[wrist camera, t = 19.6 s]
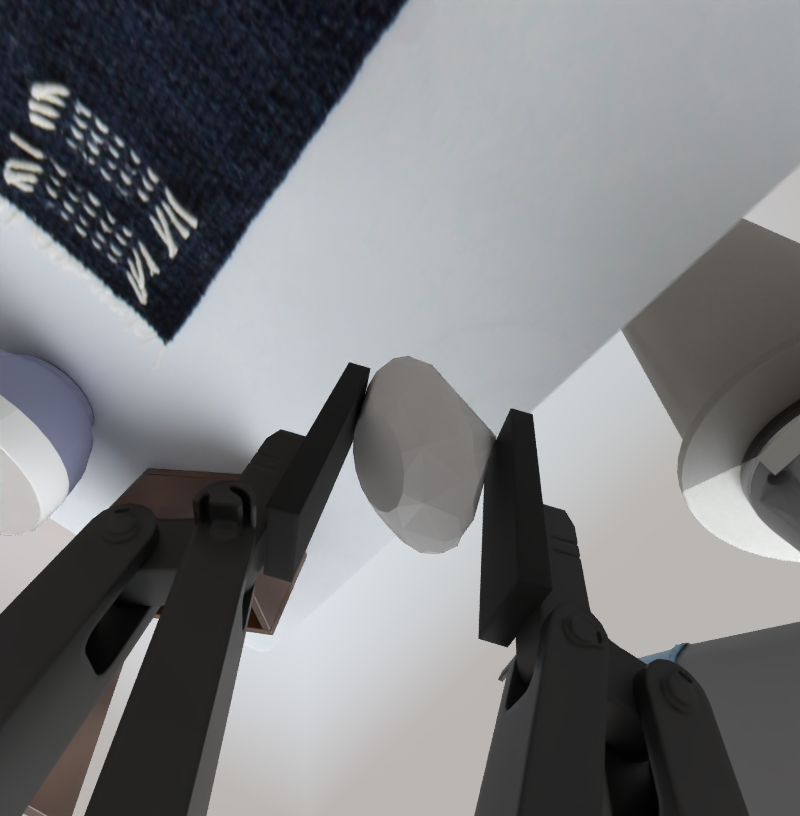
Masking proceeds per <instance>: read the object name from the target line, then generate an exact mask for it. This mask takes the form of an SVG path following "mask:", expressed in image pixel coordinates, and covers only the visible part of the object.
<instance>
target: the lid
mask: <svg viewBox="0 0 800 816" xmlns="http://www.w3.org/2000/svg"><path fill="white" fill-rule="evenodd" d="M123 663H124V662H123ZM122 666H123V664H122V665H121V667H120V668H119V670H118V671H117V673H116V674H115V676H114V677H113V679H112V680H111V682H110V683H109V685H108V687H107V688H106V690H105V691H104V693H103V694H102V696H101V697H100V699H99V700H98V702H97V703H96V705H95V706H94V708H93V709H92V711H91V712H90V714H89V715H88V717H87V718H86V720H85V721H84V723H83V724H82V726H81V727H80V729H79V730H78V732H77V733H76V735H75V736H74V738H73V739H72V741H71V742H70V744H69V745H68V747H67V748H66V750H65V751H64V753H63V754H62V756H61V757H60V759H59V760H58V762H57V763H56V765H55V766H54V768H53V769H52V771H51V772H50V774H49V775H48V777H47V778H46V780H45V781H44V783H43V784H42V786H41V787H40V789H39V790H38V792H37V793H36V795H35V796H34V798H33V799H32V801H31V803H30V804H29V806H28V807H27V809H26V810H25V812H24V814H26V815H28V816H72V814H73V811H74V808H75V805H76V802H77V799H78V796H79V793H80V790H81V787H82V784H83V781H84V779H85V775H86V773H87V770H88V767H89V764H90V761H91V758H92V755H93V752H94V749H95V746H96V743H97V740H98V737H99V734H100V731H101V728H102V725H103V722H104V719H105V717H106V714H107V711H108V708H109V705H110V702H111V699H112V696H113V693H114V690H115V687H116V684H117V681H118V678H119V675H120V672H121V669H122Z"/></svg>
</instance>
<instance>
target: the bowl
mask: <svg viewBox="0 0 800 816" xmlns="http://www.w3.org/2000/svg"><path fill="white" fill-rule="evenodd" d="M92 425H93V412H92V409H91V406H90V403H89V402H88V400H87V398H86V396H85V395H84V394H83V392H82V391H81V390H80V388H79V387H78V386H77V385H76V384H75V383H74V382H73V381H72V380H71V379H70V378H69V377H68V376H67V375H65V374H64V373H63V372H62V371H60V370H59V369H57V368H56V367H54V366H53V365H51V364H49V363H47V362H46V361H44V360H41V359H39V358H36V357H33V356H29V355H25V354H11V353H8V352H5V351H1V350H0V535H7V536H12V535H23V534H26V533H29V532H32V531H33V530H35V529H36V528H38V527H39V526H40V525H41V524H42V523H43V522H44V521H45V520H46V519H47V518H48V517H49V516H50V515H51V514H52V513H53V512H54V511H55V510H56V509H57V508H58V507H59V506H60V505H61V504H62V503H63V502H64V501H65V499H66V497H67V496H68V495H69V493H70V492H71V491H72V490H73V488H74V487H75V486H76V484H77V483H78V482H79V480H80V479H81V477H82V475H83V474H84V472H85V469H86V466H87V463H88V460H89V457H90V453H91V450H92V445H93V435H92V429H91V427H92Z"/></svg>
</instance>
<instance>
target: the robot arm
mask: <svg viewBox="0 0 800 816" xmlns="http://www.w3.org/2000/svg"><path fill="white" fill-rule="evenodd" d="M369 373H370V368H367V367H364V366H360V365H357V364H353V363H350V362H349V364H348V365H347V367H346V369H345V370H344V372H343V374H342V376H341V377H340V379H339V381H338V382H337V384H336V386H335V388H334V389H333V391H332V393H331V394H330V396H329V398H328V400H327V401H326V403H325V405H324V406H323V408H322V410H321V412H320V413H319V415H318V417H317V418H316V420H315V422H314V424H313V425H312V427H311V429H310V430H309V432H308V434H307V436H306V437H305V436H302V435H299V434H295V433H292V432H288V431H285V430H279V431H278V432H276V433H274V434H273V435H271V436H270V437H268V438H266V440H265V441H264V443H263V444H262V446H261V447H260V448H259V450H258V452H257V453H256V454H255V456H254V457H253V458H252V460H251V462H250V464H248V466H247V467H246V468H245V470H244V471H243V473H242V474H241V476H240V477H239V479H238V480H237V481H233V480H228V481H218V482H215V483H212V484H209V485H207V486H206V487H204V488H203V489H201V490H200V491H198V493H197V494H196V496H195V497H194V498H193V500H192V503H193V512H194V518H184V519H156V516H155V515H154V513H153V512H152V510H151V509H149V508H147V507H145V506H143V505H140V504H132V503H128V504H122V505H116V506H114V507H111V508H109V509H107V510H104V511H102V512H101V513H100V514H99V515H97V516H96V517H95V518H93V519H92V520H91V521H90V522H89V523H88V524H87V525H86V526H85V527H84V528H83V529H82V530H81V531H80V532H79V534H78V535H77V536H76V537H75V538H74V539H73V540H72V541H71V542H70V543H69V544H68V545H67V546H66V547H65V548H64V549H63V550H62V551H61V552H60V553H59V554H58V555H57V556H56V557H55V558H54V559H53V560H52V561H51V562H50V563H49V564H48V566H47V567H46V568H45V569H44V570H43V571H42V572H41V573H40V574H39V575H38V576H37V577H36V578H35V579H34V580H33V581H32V582H31V583H30V584H29V585H28V586H27V587H26V588H25V589H24V590H23V591H22V592H21V594H19V595H18V596H17V597H16V598H15V599H14V601H13V602H12V603H11V604H10V605H9V606H8V607H7V608H6V609H5V610H4V611H3V612H2V613H1V614H0V816H22V814H23V813H24V812H25V810H26V809H27V807H28V806H29V804H30V803H31V801H32V799H33V798H34V796H35V795H36V793H37V792H38V790H39V789H40V787H41V786H42V784H43V783H44V781H45V780H46V778H47V777H48V775H49V774H50V772H51V771H52V769H53V768H54V766H55V765H56V763H57V762H58V760H59V759H60V757H61V756H62V754H63V753H64V751H65V750H66V748H67V747H68V745H69V744H70V742H71V741H72V739H73V738H74V736H75V735H76V733H77V732H78V730H79V729H80V727H81V726H82V724H83V723H84V721H85V720H86V718H87V717H88V715H89V714H90V712H91V711H92V709H93V708H94V706H95V705H96V703H97V702H98V700H99V699H100V697H101V696H102V694H103V693H104V691H105V690H106V688H107V687H108V685H109V683H110V682H111V680H112V679H113V677H114V676H115V674H116V673H117V671H118V670H119V668H120V667H121V665H122V664H123V662H124V661H125V659H126V658H127V656H128V655H129V653H130V652H131V650H132V649H133V647H134V646H135V644H136V643H137V641H138V640H139V638H140V637H141V635H142V634H143V632H144V631H145V629H146V628H147V626H148V625H149V623H150V622H151V620H152V619H153V617H154V616H155V614H156V613H157V611H158V610H159V608H160V607H161V606H164V607H163V610H162V613H161V615H160V618H159V620H158V623H157V626H156V628H155V631H154V634H153V636H152V639H151V642H150V644H149V647H148V649H147V652H146V655H145V657H144V660H143V663H142V665H141V668H140V670H139V673H138V676H137V679H136V681H135V683H134V686H133V689H132V691H131V694H130V697H129V699H128V702H127V705H126V707H125V710H124V713H123V715H122V718H121V720H120V723H119V726H118V728H117V731H116V734H115V736H114V739H113V741H112V744H111V747H110V749H109V752H108V754H107V757H106V760H105V763H104V765H103V768H102V770H101V773H100V775H99V778H98V781H97V783H96V786H95V789H94V792H93V794H92V797H91V799H90V802H89V805H88V807H87V810H86V812H85V815H84V816H206V814H207V810H208V805H209V801H210V796H211V792H212V787H213V782H214V777H215V773H216V768H217V764H218V759H219V754H220V750H221V745H222V740H223V736H224V731H225V727H226V722H227V717H228V713H229V708H230V704H231V699H232V694H233V689H234V685H235V680H236V676H237V671H238V666H239V661H240V657H241V652H242V648H243V643H244V639H245V634H246V629H247V625H248V620H249V616H250V611H251V606H252V602H253V597H254V592H255V580H256V578H257V576H258V574H259V572H260V571H261V569H262V567H263V565H264V571H263V574H264V575H267V576H270V577H274V578H277V579H281V580H284V581H287V582H291V583H292V581H293V579H294V576H295V574H296V572H297V569H298V567H299V565H300V562H301V560H302V558H303V556H304V553H305V551H306V549H307V546H308V544H309V542H310V539H311V537H312V535H313V532H314V530H315V528H316V525H317V523H318V521H319V519H320V516H321V514H322V512H323V509H324V507H325V505H326V502H327V500H328V498H329V495H330V493H331V491H332V489H333V486H334V484H335V482H336V479H337V477H338V475H339V472H340V470H341V468H342V465H343V463H344V461H345V458H346V456H347V454H348V452H349V449H350V447H351V445H352V442H353V440H354V432H355V427H356V423H357V420H358V416H359V413H360V410H361V407H362V404H363V400H364V397H365V393H366V388H367V383H368V378H369ZM740 481H741V486H742V490H743V493H744V495H745V497H746V498H747V500H748V502H749V503H750V505H751V506H752V508H753V509H754V511H755V512H756V514H757V515H758V517H759V518H760V519H761V520H762V521H763V523H765V524H766V525H767V526H768V527H769V528H770V529H771V530H772V531H773V532H774V533H776V534H777V535H778V536H780V537H781V538H782V539H784V540H785V541H786V542H788V543H789V544H790V545H791V546H793V547H794V548H795V549H797V550H798V551H799V552H800V399H799V400H798V401H796V402H795V403H793V404H792V405H790V406H789V407H787V408H786V409H784V410H783V411H782V412H780V413H779V414H778V415H777V416H776V417H774V418H773V419H772V420H771V421H770V422H769V423H768V424H767V425H766V426H765V427H764V428H763V429H762V430H761V431H760V432H759V433H758V435H757V436H756V437H755V438H754V440H753V441H752V443H751V444H750V446H749V448H748V450H747V452H746V453H745V456H744V459H743V461H742V465H741V471H740ZM482 531H483V532H482V558H481V584H480V586H481V587H480V613H479V639H481V640H485V641H488V642H491V643H495V644H498V645H501V646H505V647H508V646H509V645H510V644H511V642H512V641H513V640H514V639H515V637H516V655H515V656H514V658H513V659H512V660H511V661H510V663H509V664H508V665H507V666H506V667H505V669H504V670H503V671H502V673H501V675H500V677H499V680H500V681H502V682H503V680H504V679H505V678H506V682H505V686H504V690H503V694H502V699H501V704H500V708H499V712H498V716H497V720H496V725H495V729H494V733H493V738H492V742H491V747H490V751H489V755H488V760H487V764H486V768H485V772H484V776H483V781H482V785H481V789H480V794H479V798H478V802H477V807H476V811H475V815H474V816H800V622H796V623H791V624H787V625H782V626H777V627H772V628H768V629H762V630H758V631H753V632H749V633H743V634H739V635H734V636H729V637H725V638H719V639H715V640H710V641H705V642H701V643H696V644H689V643H682V644H680V645H676V646H675V647H674V648H673V649H671V650H668V651H664V652H660V653H656V654H653V655H649V656H645V657H641V658H636V657H634V656H633V655H631V654H630V653H628V652H627V651H625V650H623V649H622V648H620V647H619V646H617V645H616V644H615V643H613V642H612V641H611V640H610V639H608V637H607V634H606V632H605V630H604V628H603V626H602V624H601V623H600V622H599V621H598V619H597V618H596V617H595V616H594V615H593V614H592V613H591V611H590V607H589V602H588V597H587V592H586V586H585V581H584V575H583V570H582V564H581V560H580V559H579V557H580V553H579V548H578V546H577V537H576V532H575V526H574V525H573V523H572V521H571V520H570V518H569V517H568V515H567V513H566V512H565V510H561V509H558V508H554V507H551V506H548V505H544V504H543V501H542V493H541V484H540V474H539V466H538V457H537V448H536V440H535V431H534V422H533V415H532V414H529V413H526V412H522V411H519V410H515V409H512V408H511V409H510V411H509V413H508V416H507V418H506V420H505V422H504V424H503V427H502V429H501V431H500V433H499V435H498V437H497V440H496V442H495V445H494V448H493V452H492V455H491V459H490V463H489V466H488V470H487V473H486V477H485V481H484V503H483V529H482Z"/></svg>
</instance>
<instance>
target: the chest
mask: <svg viewBox="0 0 800 816" xmlns="http://www.w3.org/2000/svg"><path fill="white" fill-rule="evenodd" d="M240 476H241V474H227V473H211V472H195V471H179V470H163V469H146V470H145V471H144V472H143V474H142V475H141V476H140V477H139V478H138V479H137V480H136V481H135V482H134V483H133V484H132V485H131V486H130V487H129V488H128V489H127V490H126V491H125V492H124V493H123V494H122V495H121V496H120V497H119V498H118V499H117V500H116V501H115V502H114V503H113V504H112V505H111V506H110V507H109V508H111V507H114V506H116V505H122V504H128V503H132V504H140V505H143V506H145V507H147V508H149V509H151V510H152V512H153V513H154V515H155V516H156V519H184V518H194V512H193V503H192V500H193V498H194V497H195V496H196V494H197V493H198V491H200V490H201V489H203V488H204V487H206V486H207V485H209V484H212V483H215V482H218V481H228V480H233V481H237V480H238V479H239V477H240ZM306 556H307V555H306V552H305V553H304V556H303V558H302V560H301V562H300V565H299V567H298V569H297V572H296V574H295V576H294V579H293V581H292V583H291V582H287V581H284V580H281V579H277V578H274V577H270V576H267V575H264V574H263V571H264V565H263V567H262V569H261V571H260V572H259V574H258V576H257V578H256V580H255V592H254V597H253V602H252V606H251V611H250V616H249V620H248V625H247V629H246V631H247V632H254V633H261V634H268V635H273V633H274V631H275V629H276V626H277V624H278V622H279V619H280V617H281V615H282V612H283V610H284V608H285V605H286V603H287V601H288V598H289V596H290V594H291V591H292V589H293V587H294V585H295V582H296V580H297V578H298V575H299V573H300V571H301V568H302V566H303V564H304V561H305V559H306ZM163 607H164V606H161V607H160V608H159V610H158V611H157V613H156V614H155V616H154V617H153V618H160V615H161V613H162V610H163Z"/></svg>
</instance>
